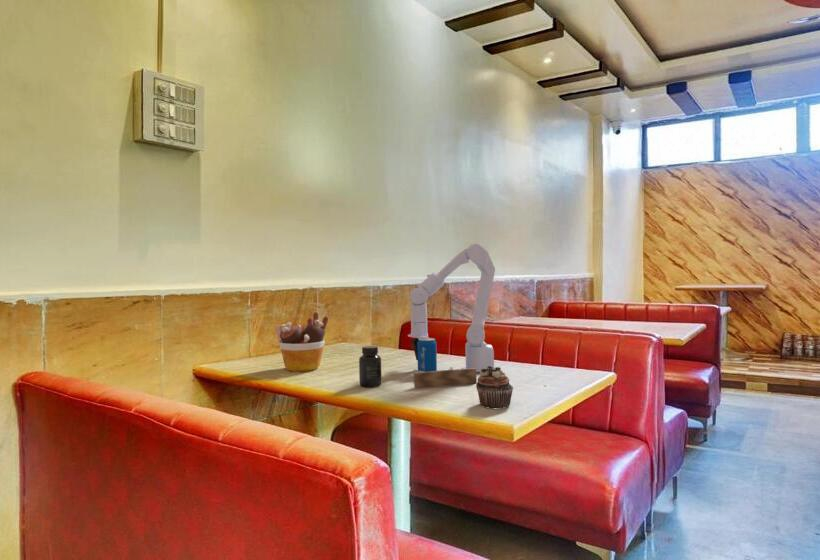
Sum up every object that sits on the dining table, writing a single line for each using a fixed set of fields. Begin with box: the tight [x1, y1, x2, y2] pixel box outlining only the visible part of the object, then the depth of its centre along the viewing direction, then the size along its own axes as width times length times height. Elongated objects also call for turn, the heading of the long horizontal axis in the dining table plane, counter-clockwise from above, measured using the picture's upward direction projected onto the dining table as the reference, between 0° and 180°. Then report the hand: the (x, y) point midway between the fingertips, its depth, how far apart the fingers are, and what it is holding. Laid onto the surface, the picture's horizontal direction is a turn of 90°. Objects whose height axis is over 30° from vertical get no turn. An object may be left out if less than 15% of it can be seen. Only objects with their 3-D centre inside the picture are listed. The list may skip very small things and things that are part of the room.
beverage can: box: [417, 337, 438, 372], centre depth 185 cm, size 6×6×12 cm
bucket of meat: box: [274, 312, 329, 373], centre depth 198 cm, size 20×16×20 cm
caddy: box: [412, 366, 478, 389], centre depth 174 cm, size 20×13×4 cm, turn 107°
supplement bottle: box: [358, 345, 382, 389], centre depth 169 cm, size 7×7×12 cm
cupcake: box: [475, 366, 514, 409], centre depth 144 cm, size 10×10×10 cm
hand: (419, 360), depth 193 cm, fingers closed
